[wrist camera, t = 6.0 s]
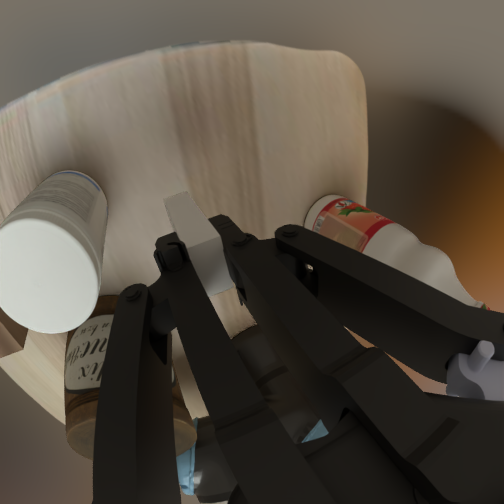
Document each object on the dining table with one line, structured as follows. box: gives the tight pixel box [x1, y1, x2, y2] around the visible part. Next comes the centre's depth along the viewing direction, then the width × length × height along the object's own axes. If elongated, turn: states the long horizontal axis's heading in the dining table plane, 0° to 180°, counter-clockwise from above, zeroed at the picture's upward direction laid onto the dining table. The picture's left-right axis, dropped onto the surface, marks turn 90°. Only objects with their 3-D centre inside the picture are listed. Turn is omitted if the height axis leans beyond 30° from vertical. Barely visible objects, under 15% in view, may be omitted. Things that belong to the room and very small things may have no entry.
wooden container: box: [64, 295, 197, 460], centre depth 26 cm, size 15×15×22 cm
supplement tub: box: [0, 170, 108, 334], centre depth 19 cm, size 10×10×15 cm
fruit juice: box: [304, 195, 490, 310], centre depth 30 cm, size 9×9×28 cm
